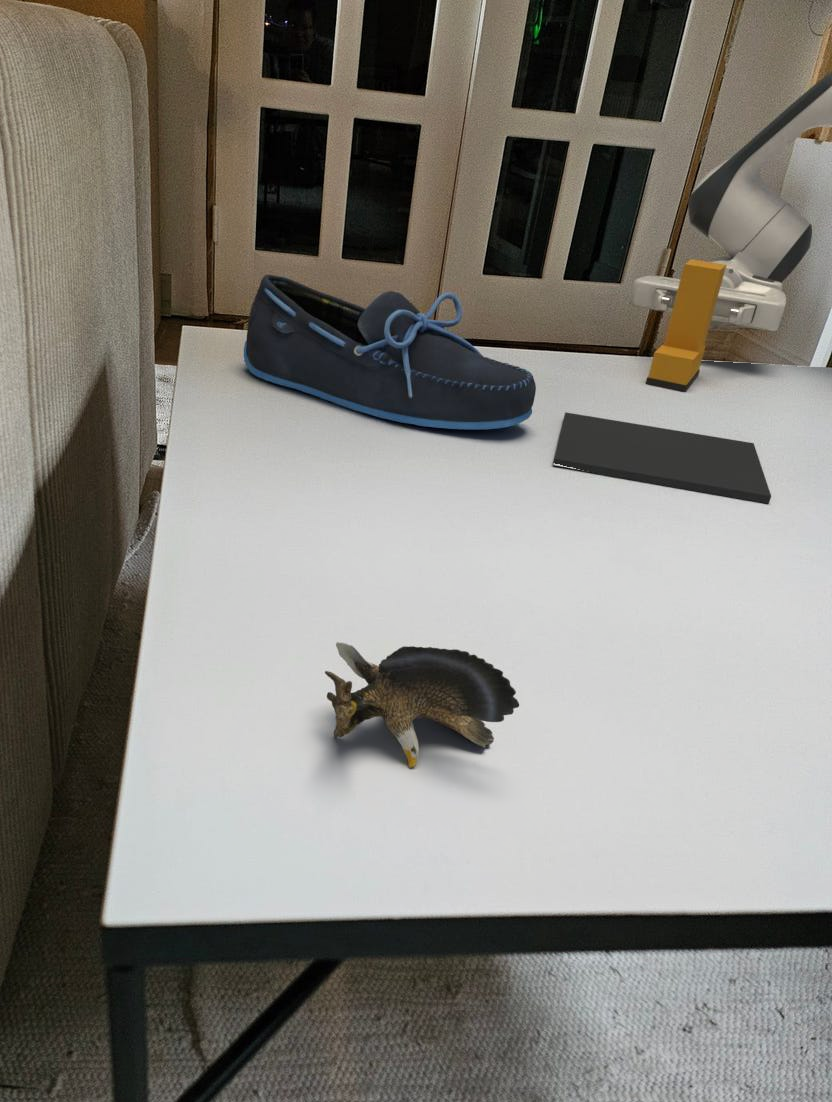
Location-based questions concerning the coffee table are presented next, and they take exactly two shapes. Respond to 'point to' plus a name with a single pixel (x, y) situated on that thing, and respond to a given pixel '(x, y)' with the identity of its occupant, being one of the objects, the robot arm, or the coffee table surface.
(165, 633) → the coffee table surface
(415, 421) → the moccasin
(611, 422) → the shoe mat
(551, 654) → the coffee table surface
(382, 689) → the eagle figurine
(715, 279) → the boot
